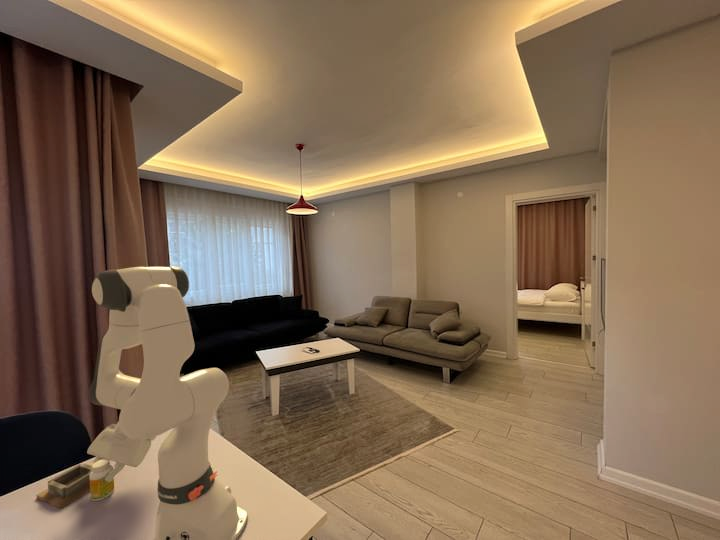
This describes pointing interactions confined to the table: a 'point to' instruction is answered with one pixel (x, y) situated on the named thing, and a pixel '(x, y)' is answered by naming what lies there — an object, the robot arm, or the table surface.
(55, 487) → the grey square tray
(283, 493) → the table surface
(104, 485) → the supplement bottle
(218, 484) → the robot arm
